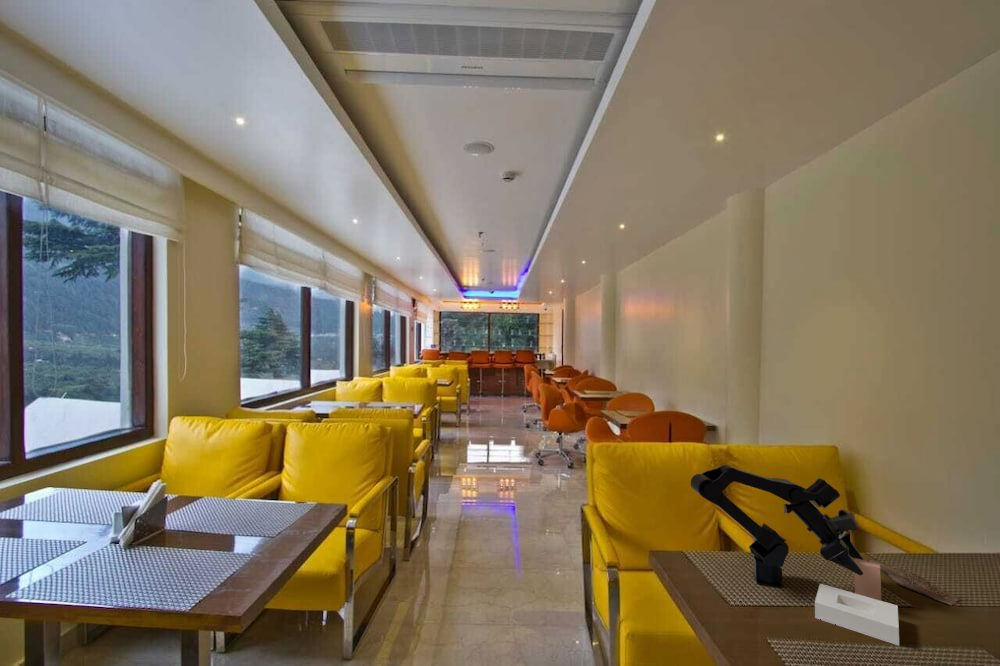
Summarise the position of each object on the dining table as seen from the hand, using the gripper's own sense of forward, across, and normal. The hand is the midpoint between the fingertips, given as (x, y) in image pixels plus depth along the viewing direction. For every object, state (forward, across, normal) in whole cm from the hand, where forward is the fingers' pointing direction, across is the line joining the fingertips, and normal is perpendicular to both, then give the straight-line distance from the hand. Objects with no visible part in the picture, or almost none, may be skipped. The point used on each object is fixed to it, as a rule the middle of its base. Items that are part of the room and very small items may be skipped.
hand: (862, 568), depth 122 cm
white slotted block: (+5, -14, +7) cm, 16 cm away
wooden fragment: (+13, +20, -1) cm, 24 cm away
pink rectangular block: (+6, 0, +5) cm, 8 cm away
